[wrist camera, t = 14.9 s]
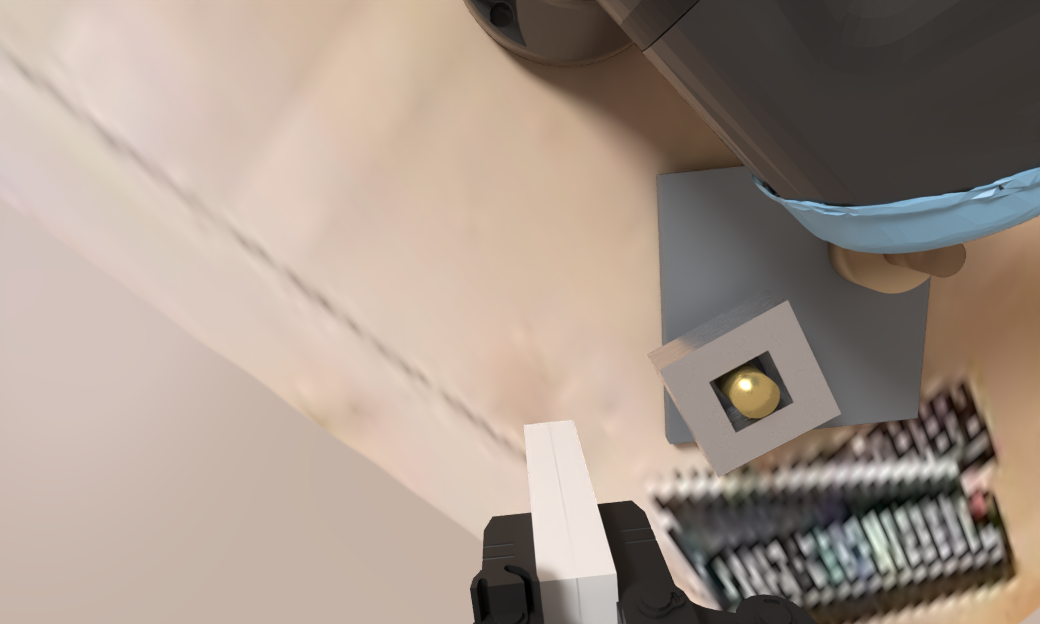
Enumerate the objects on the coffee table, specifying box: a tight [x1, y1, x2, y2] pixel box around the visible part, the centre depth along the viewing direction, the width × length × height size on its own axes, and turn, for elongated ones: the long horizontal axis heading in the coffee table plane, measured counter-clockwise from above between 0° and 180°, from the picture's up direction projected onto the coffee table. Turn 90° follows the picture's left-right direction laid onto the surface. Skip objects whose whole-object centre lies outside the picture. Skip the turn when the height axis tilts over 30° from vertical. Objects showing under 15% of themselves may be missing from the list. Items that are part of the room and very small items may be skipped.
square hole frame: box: [648, 290, 841, 477], centre depth 38 cm, size 9×9×3 cm
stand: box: [828, 242, 966, 294], centre depth 36 cm, size 6×6×7 cm
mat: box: [657, 166, 930, 444], centre depth 41 cm, size 20×19×1 cm
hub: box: [709, 356, 780, 418], centre depth 39 cm, size 7×7×6 cm
